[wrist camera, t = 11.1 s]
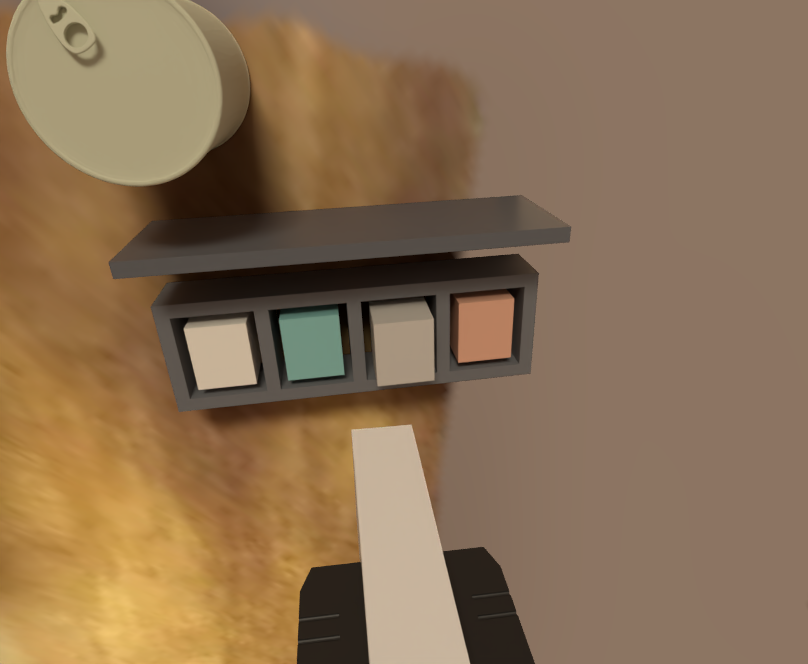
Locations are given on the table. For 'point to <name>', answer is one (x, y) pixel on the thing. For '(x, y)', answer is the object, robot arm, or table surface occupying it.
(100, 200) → the table surface
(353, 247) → the screen
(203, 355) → the key
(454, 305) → the key
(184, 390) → the key frame
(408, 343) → the grey block
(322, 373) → the key
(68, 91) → the can
